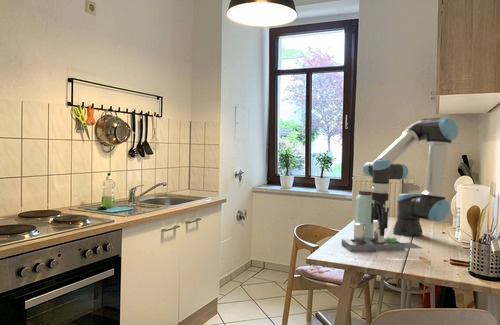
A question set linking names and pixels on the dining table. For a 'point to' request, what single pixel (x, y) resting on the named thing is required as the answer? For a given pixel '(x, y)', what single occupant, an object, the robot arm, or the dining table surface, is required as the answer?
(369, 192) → the water bottle
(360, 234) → the cylinder
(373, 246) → the tray
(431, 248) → the dining table surface
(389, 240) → the button
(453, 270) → the dining table surface
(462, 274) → the dining table surface
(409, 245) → the pad
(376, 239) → the billet
